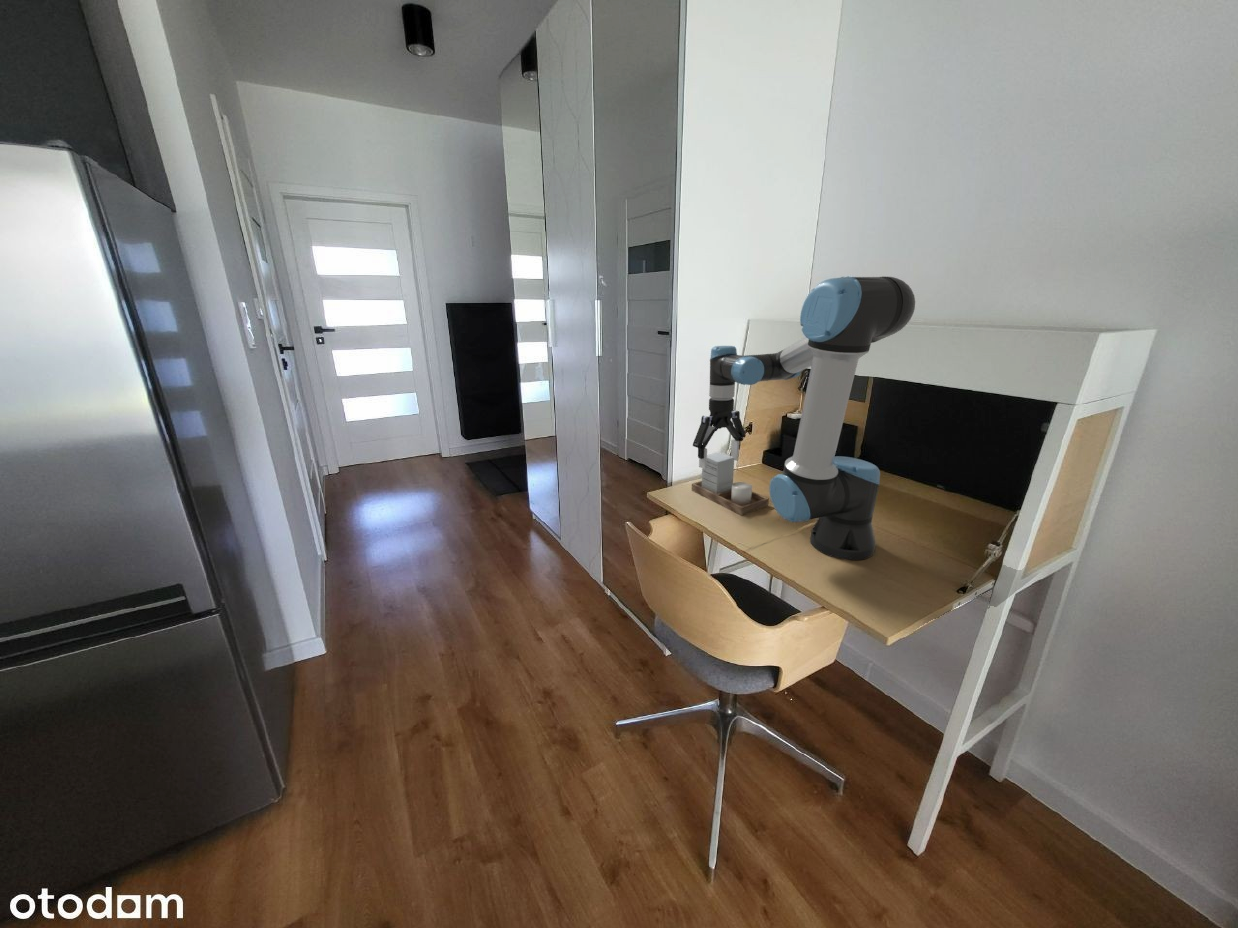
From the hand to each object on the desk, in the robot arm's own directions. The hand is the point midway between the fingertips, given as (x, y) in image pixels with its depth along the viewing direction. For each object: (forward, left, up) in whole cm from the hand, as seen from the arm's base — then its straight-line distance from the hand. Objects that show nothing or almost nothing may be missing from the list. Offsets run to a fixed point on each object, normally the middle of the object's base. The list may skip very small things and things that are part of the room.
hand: (718, 463), depth 147 cm
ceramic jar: (-10, 0, -10) cm, 15 cm away
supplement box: (0, 0, -10) cm, 10 cm away
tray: (-5, 0, -11) cm, 12 cm away
